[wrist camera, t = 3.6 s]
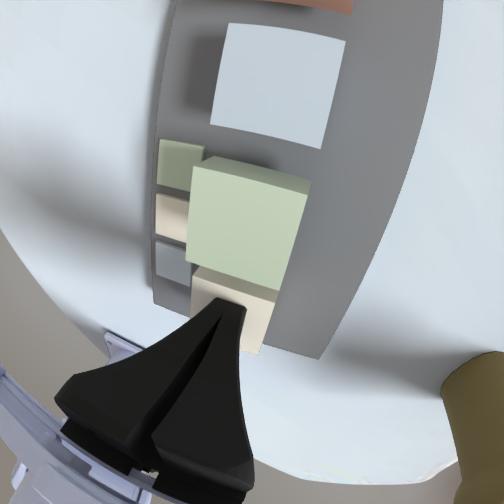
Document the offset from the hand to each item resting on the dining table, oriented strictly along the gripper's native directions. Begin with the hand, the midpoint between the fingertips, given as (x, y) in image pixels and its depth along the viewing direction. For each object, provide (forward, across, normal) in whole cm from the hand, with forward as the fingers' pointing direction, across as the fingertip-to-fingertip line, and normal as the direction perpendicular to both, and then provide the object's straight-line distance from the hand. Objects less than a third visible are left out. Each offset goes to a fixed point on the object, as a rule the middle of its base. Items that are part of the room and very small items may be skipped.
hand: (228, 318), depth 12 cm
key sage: (+1, 0, -5) cm, 5 cm away
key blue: (+2, 0, -9) cm, 9 cm away
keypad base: (+3, 0, -7) cm, 7 cm away
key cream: (+2, 0, 0) cm, 2 cm away
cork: (+3, -18, +3) cm, 19 cm away
